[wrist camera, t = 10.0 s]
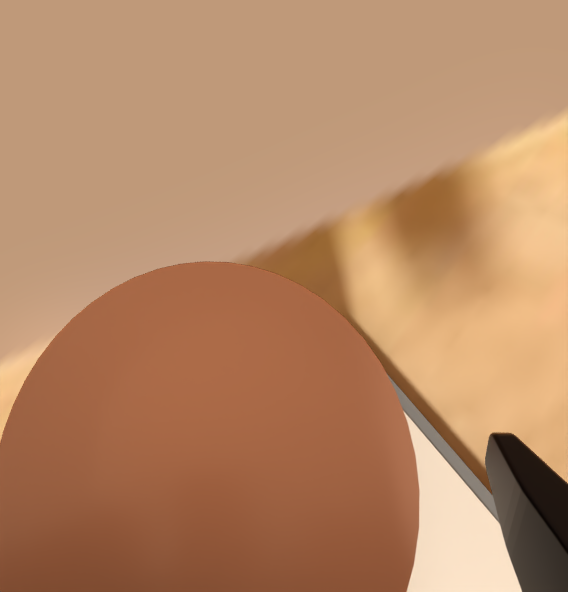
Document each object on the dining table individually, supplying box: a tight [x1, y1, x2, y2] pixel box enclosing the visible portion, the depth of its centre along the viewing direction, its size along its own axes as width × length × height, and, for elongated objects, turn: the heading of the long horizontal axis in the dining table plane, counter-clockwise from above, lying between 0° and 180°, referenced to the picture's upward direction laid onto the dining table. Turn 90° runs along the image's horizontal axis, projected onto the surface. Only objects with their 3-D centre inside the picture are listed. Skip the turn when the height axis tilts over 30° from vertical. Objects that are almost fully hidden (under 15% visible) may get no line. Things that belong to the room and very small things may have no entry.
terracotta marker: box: [0, 262, 420, 592], centre depth 10 cm, size 5×5×13 cm
